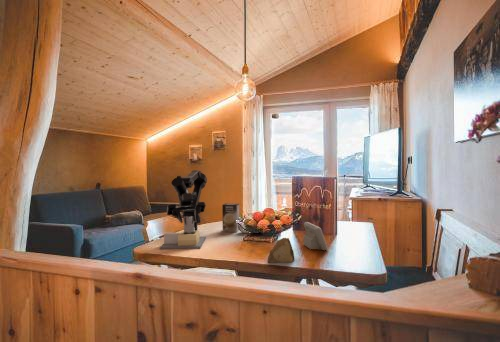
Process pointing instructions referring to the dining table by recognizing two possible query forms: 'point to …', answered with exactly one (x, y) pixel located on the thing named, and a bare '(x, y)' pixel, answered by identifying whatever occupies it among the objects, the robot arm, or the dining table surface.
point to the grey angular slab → (314, 237)
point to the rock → (282, 251)
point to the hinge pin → (189, 225)
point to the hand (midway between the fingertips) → (189, 222)
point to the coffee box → (230, 217)
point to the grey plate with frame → (183, 240)
